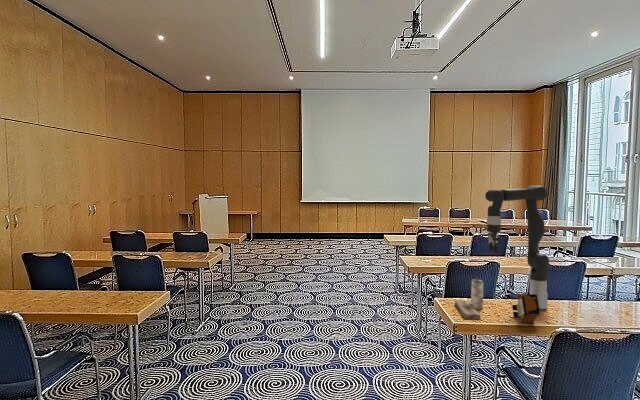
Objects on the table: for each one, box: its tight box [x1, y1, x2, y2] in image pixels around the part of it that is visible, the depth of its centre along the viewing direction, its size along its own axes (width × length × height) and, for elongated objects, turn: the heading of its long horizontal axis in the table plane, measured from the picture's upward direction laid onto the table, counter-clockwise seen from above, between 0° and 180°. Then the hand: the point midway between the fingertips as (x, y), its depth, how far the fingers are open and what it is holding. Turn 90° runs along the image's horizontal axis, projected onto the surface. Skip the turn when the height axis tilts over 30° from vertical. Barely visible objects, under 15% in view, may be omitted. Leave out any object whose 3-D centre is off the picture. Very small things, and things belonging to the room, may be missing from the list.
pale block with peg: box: [470, 277, 484, 310], centre depth 261 cm, size 6×6×18 cm
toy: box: [511, 293, 541, 324], centre depth 235 cm, size 16×6×20 cm
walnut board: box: [454, 300, 481, 321], centre depth 252 cm, size 8×30×3 cm, turn 173°
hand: (493, 251), depth 252 cm, fingers open, 8 cm apart
